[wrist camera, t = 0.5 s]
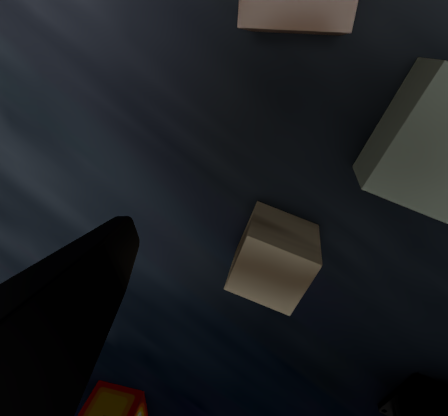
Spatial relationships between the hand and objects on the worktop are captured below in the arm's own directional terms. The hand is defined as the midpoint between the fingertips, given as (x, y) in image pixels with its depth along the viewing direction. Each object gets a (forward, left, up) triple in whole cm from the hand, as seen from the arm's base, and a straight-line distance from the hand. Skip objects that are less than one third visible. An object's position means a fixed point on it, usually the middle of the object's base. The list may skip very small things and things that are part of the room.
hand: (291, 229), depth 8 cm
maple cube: (-9, -2, -14) cm, 17 cm away
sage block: (+2, -8, -14) cm, 16 cm away
